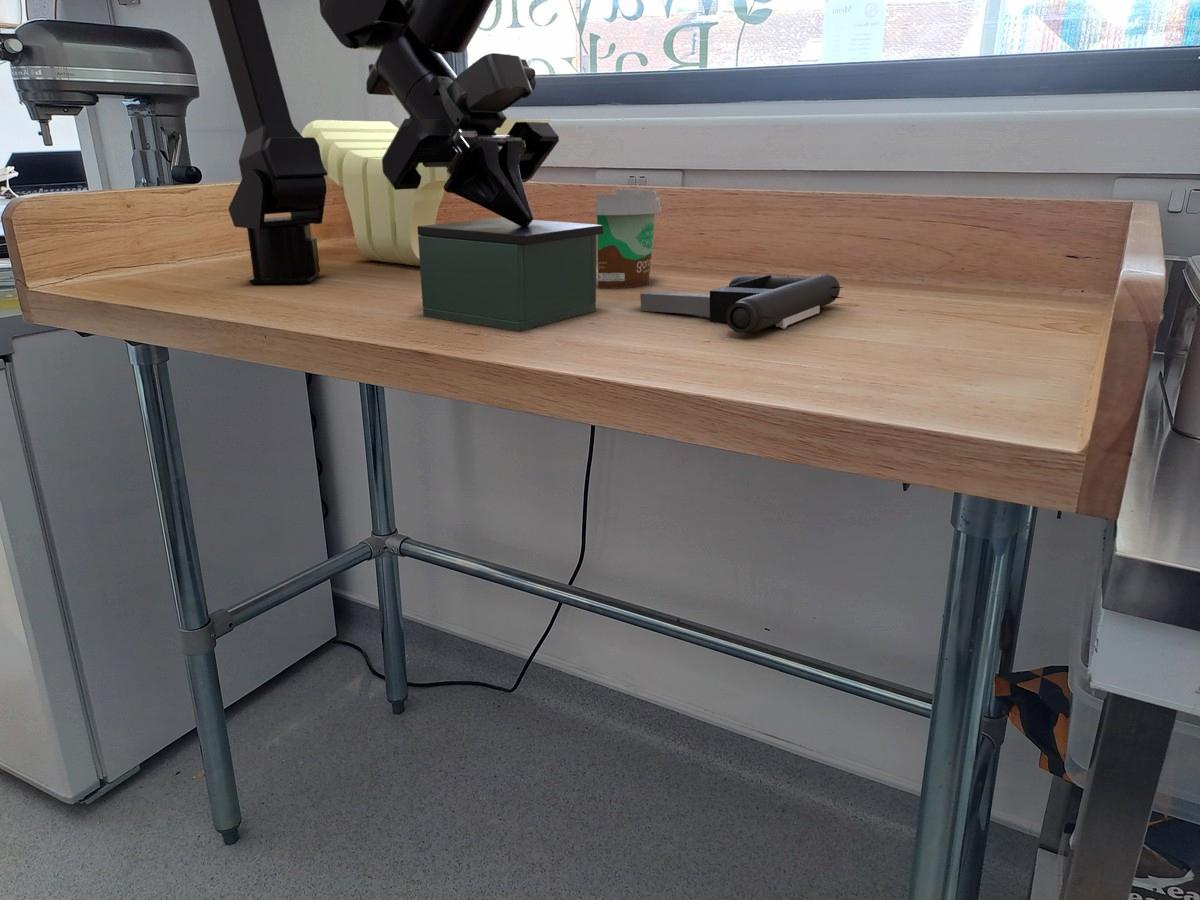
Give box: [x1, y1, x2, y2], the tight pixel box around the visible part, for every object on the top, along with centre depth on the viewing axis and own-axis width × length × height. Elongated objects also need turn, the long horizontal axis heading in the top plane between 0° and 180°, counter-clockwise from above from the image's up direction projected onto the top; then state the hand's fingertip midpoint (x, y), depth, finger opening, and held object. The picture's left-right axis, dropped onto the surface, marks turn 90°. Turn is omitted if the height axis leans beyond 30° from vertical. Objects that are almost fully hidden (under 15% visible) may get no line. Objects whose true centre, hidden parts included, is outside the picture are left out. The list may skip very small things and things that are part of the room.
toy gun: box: [639, 273, 845, 335], centre depth 81 cm, size 3×20×16 cm
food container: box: [595, 188, 662, 289], centre depth 97 cm, size 12×6×10 cm, turn 168°
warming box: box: [418, 235, 597, 332], centre depth 80 cm, size 12×12×7 cm
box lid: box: [418, 217, 604, 245], centre depth 78 cm, size 12×12×1 cm
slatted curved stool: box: [300, 118, 552, 267], centre depth 113 cm, size 30×16×18 cm, turn 54°
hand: (528, 223), depth 77 cm, fingers closed, pressing on box lid
